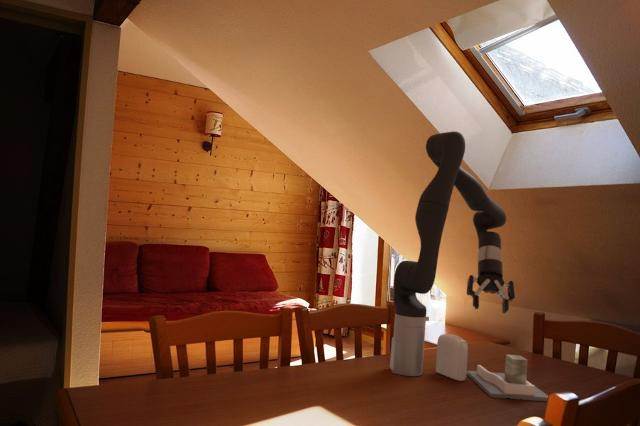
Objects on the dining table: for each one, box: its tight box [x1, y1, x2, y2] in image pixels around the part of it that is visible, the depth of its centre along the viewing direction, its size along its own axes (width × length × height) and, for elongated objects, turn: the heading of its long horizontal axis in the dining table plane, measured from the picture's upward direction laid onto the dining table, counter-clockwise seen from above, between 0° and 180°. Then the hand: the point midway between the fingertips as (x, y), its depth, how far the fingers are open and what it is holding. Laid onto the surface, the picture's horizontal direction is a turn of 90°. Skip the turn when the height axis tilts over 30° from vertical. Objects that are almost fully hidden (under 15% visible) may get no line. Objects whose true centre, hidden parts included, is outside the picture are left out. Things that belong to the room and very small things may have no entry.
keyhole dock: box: [466, 364, 549, 402], centre depth 150 cm, size 16×22×4 cm
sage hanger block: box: [504, 354, 529, 384], centre depth 144 cm, size 4×5×9 cm
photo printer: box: [435, 333, 469, 382], centre depth 157 cm, size 10×4×12 cm, turn 29°
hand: (490, 310), depth 162 cm, fingers open, 8 cm apart
